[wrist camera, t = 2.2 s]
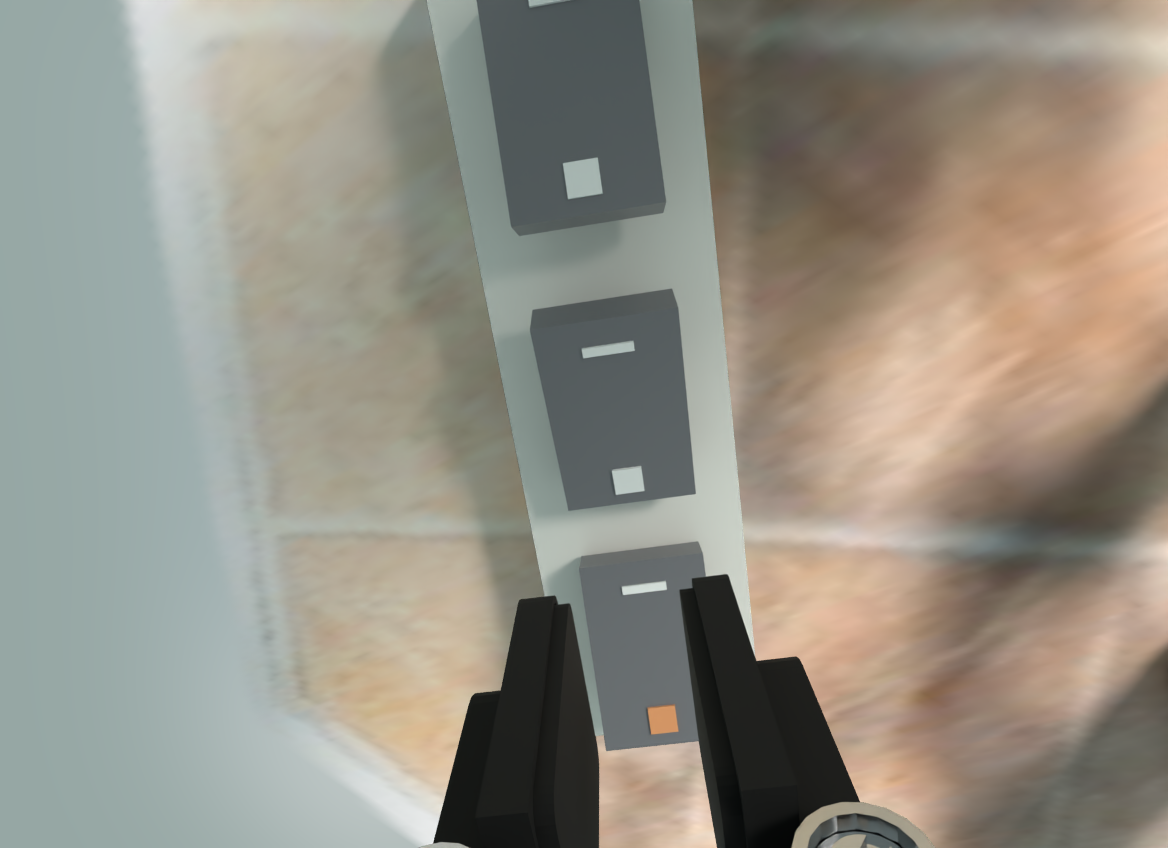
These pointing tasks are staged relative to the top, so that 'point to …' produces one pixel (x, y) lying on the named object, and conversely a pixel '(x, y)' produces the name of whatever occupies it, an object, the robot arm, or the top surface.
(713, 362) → the power strip
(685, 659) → the plate
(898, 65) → the top surface
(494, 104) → the rocker
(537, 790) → the robot arm
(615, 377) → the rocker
